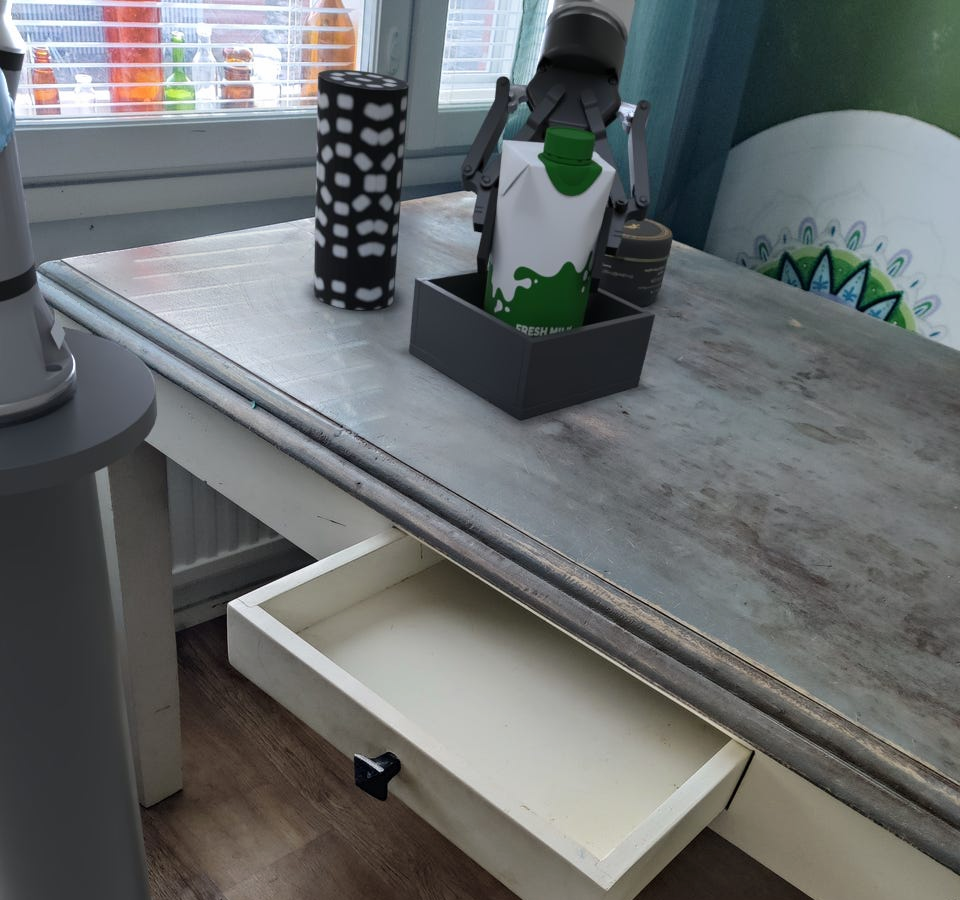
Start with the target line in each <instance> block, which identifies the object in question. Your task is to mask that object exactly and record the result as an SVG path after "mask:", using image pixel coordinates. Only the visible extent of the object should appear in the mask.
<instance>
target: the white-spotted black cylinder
mask: <svg viewBox="0 0 960 900" xmlns="http://www.w3.org/2000/svg"><path fill="white" fill-rule="evenodd" d="M409 88H410V84H409V83H408V82H406V81H405V80H402V79H400V78H398V77H393V76H390V75H387V74H382V73H377V72H370V71H365V70H354V69H327V70H323V71H319V72H318V74H317V103H316V104H317V106H316V107H317V108H316V109H317V110H316V154H315V155H316V157H315V158H316V159H315V161H316V162H315V163H316V164H315V207H314V208H315V210H314V211H315V213H314V261H313V262H314V264H313V265H314V267H313V268H314V269H313V271H314V272H313V294H314V296H315V297H316V298H317V299H318V300H319V301H321V302H323V303H325V304H328V305H330V306H333V307H336V308H340V309H345V310H346V309H347V310H353V311H357V310H358V311H370V310H371V311H372V310H379V309H382V308H386V307H388V306H390V305H392V304H393V302H394V301H395V292H396V291H395V289H396V287H395V286H396V274H397V262H398V261H397V259H398V249H399V248H398V247H399V246H398V245H399V231H400V219H401V218H400V216H401V202H402V190H403V175H404V160H405V145H406V132H407V118H408V117H407V116H408V103H409V90H410V89H409Z"/></svg>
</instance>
